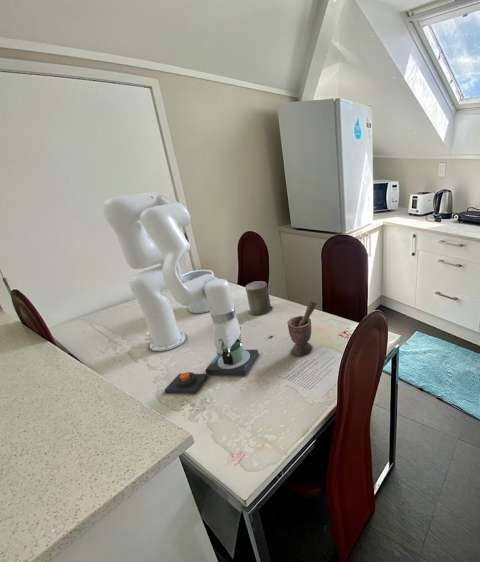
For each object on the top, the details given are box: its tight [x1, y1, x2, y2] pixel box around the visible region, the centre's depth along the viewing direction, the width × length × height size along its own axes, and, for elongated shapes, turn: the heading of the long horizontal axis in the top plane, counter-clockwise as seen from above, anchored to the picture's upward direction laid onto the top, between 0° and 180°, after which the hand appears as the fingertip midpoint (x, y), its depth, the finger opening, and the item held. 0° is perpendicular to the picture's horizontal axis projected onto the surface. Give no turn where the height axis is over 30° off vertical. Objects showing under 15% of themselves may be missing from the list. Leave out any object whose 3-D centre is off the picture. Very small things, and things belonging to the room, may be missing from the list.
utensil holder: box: [181, 269, 215, 314], centre depth 153 cm, size 15×15×18 cm
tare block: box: [164, 371, 209, 395], centre depth 105 cm, size 10×8×3 cm
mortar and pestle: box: [287, 299, 317, 356], centre depth 120 cm, size 12×9×20 cm
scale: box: [205, 348, 260, 377], centre depth 114 cm, size 14×12×3 cm
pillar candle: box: [244, 280, 272, 316], centre depth 150 cm, size 10×10×15 cm
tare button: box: [180, 372, 190, 382], centre depth 104 cm, size 3×3×2 cm
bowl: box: [224, 341, 244, 363], centre depth 113 cm, size 7×7×5 cm
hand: (233, 356), depth 113 cm, fingers closed on bowl, 6 cm apart
